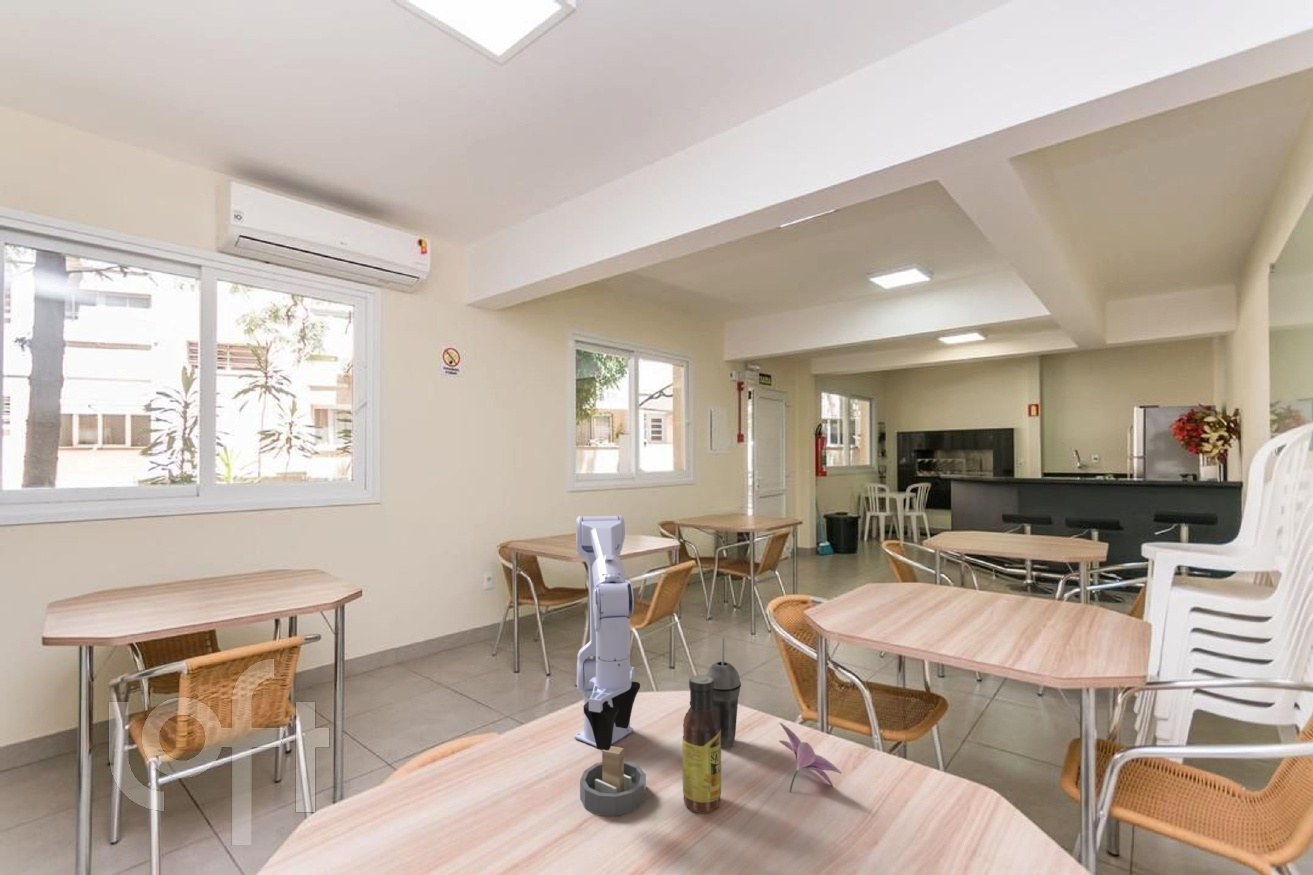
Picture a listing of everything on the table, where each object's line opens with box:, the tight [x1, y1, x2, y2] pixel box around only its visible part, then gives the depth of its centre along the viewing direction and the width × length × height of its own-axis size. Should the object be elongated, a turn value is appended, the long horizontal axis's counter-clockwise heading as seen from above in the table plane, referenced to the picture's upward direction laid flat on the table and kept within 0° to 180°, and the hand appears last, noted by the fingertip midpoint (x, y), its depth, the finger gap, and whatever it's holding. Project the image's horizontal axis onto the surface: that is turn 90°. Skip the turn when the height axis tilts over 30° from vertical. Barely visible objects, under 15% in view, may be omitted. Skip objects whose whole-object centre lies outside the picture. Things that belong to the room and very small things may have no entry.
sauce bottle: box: [682, 674, 722, 814], centre depth 95 cm, size 7×6×20 cm
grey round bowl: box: [579, 760, 647, 817], centre depth 97 cm, size 11×11×3 cm
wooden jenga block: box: [601, 745, 625, 793], centre depth 97 cm, size 2×3×7 cm, turn 70°
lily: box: [778, 722, 842, 793], centre depth 100 cm, size 12×12×10 cm
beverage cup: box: [705, 637, 742, 750], centre depth 115 cm, size 7×7×20 cm
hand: (613, 737), depth 97 cm, fingers open, 7 cm apart
